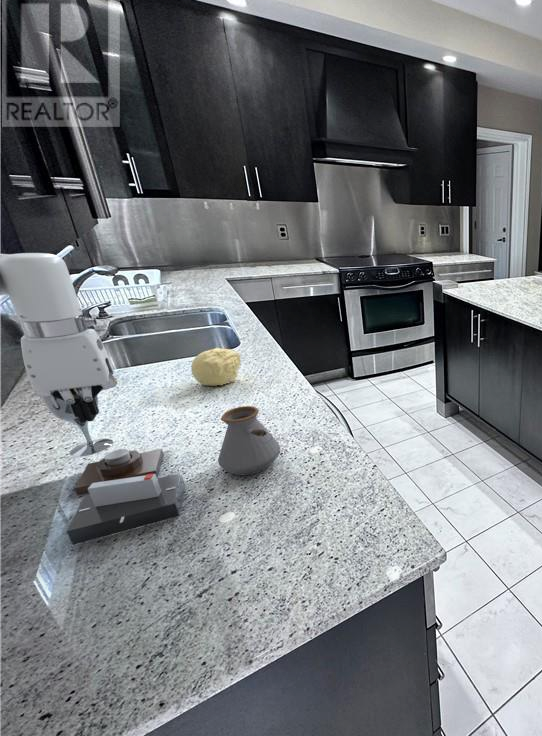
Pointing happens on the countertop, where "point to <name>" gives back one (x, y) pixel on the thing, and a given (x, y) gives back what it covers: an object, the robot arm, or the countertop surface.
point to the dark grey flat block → (126, 512)
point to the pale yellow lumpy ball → (216, 366)
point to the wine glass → (66, 413)
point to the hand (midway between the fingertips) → (89, 418)
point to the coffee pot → (246, 443)
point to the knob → (124, 490)
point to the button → (117, 457)
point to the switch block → (120, 469)
